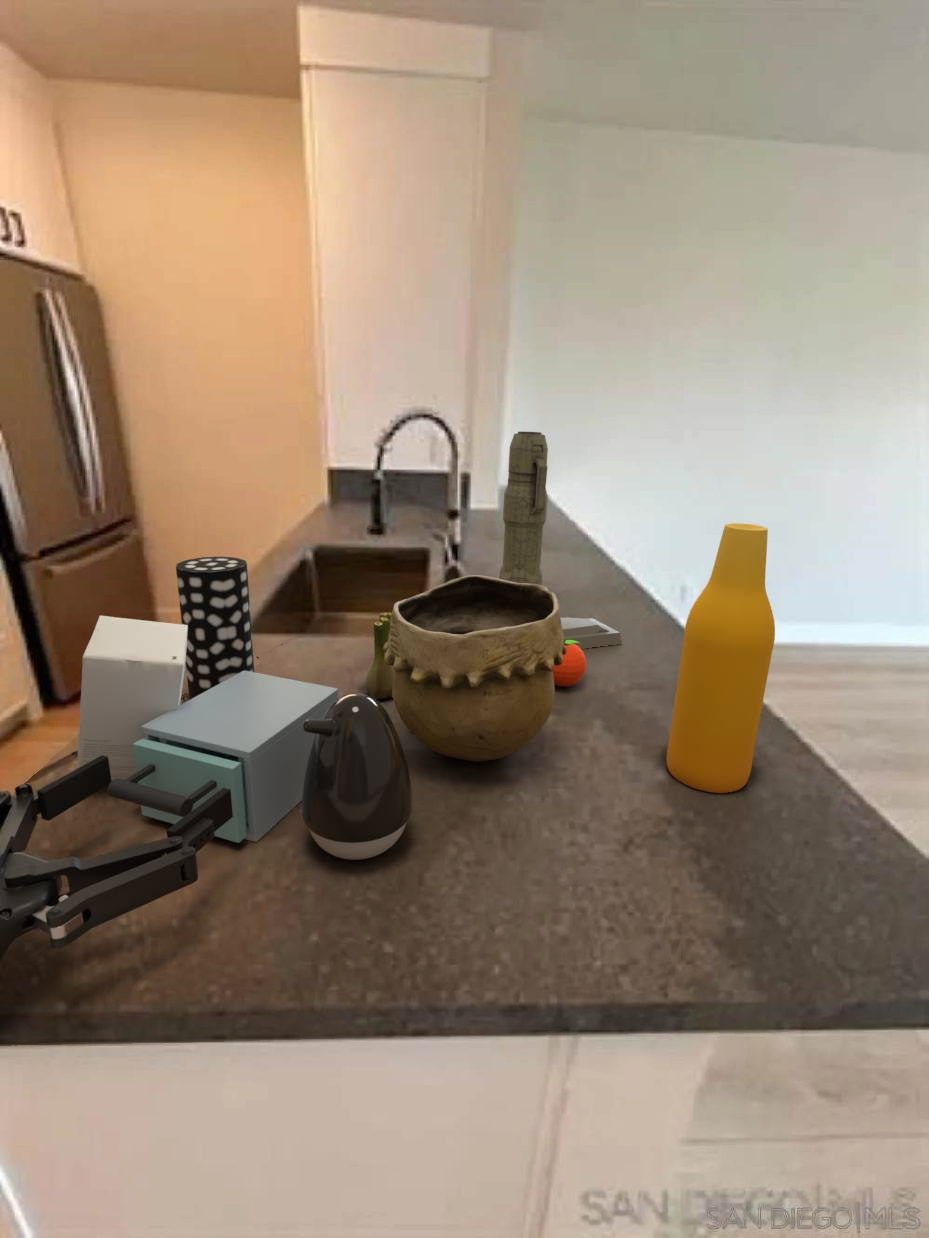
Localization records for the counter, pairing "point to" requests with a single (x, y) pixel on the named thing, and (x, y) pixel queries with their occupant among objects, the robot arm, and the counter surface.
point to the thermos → (525, 508)
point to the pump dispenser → (356, 780)
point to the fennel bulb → (380, 662)
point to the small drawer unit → (254, 736)
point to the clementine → (570, 665)
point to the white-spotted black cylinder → (215, 620)
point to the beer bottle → (724, 668)
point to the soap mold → (589, 632)
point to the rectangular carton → (127, 686)
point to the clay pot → (475, 665)
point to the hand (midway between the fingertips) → (165, 784)
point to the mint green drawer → (184, 783)
